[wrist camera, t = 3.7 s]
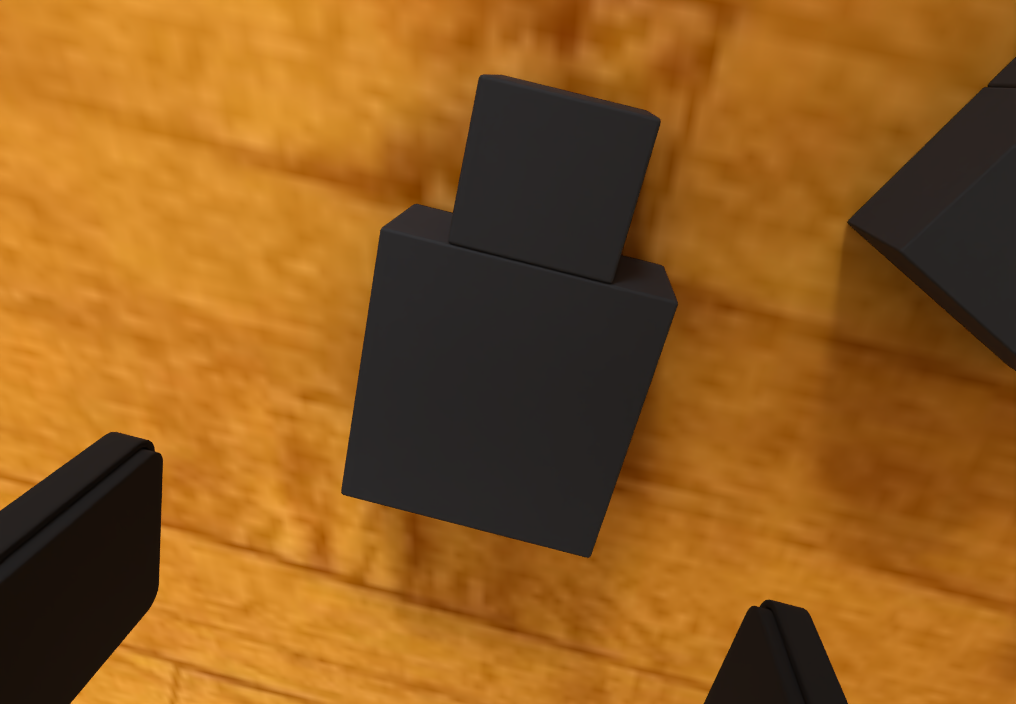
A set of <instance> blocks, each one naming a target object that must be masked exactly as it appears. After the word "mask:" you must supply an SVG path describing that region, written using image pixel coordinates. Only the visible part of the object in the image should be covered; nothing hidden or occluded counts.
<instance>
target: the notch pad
mask: <svg viewBox="0 0 1016 704" xmlns="http://www.w3.org/2000/svg"><path fill="white" fill-rule="evenodd" d="M848 224H849V225H850V226H851V227H852V228H853V229H854V230H856V231H857V232H858V233H859V234H860V235H861V236H862V237H863V238H865V239H866V240H867V241H868V242H869V243H870V244H871V245H872V246H874V247H875V248H876V249H877V250H878V251H879V252H880V253H881V254H883V255H884V256H885V257H886V258H887V259H888V260H889V261H891V262H892V263H893V264H894V265H895V266H896V267H897V268H898V269H900V270H901V271H902V272H903V273H904V274H905V275H906V276H907V277H909V278H910V279H911V280H912V281H913V282H914V283H915V284H916V285H918V286H919V287H920V288H921V289H922V290H923V291H924V292H925V293H927V294H928V295H929V296H930V297H931V298H932V299H933V300H935V301H936V302H937V303H938V304H939V305H940V306H941V307H942V308H944V309H945V310H946V311H947V312H948V313H949V314H950V315H951V316H953V317H954V318H955V319H956V320H957V321H958V322H959V323H960V324H962V325H963V326H964V327H965V328H966V329H967V330H968V331H970V332H971V333H972V334H973V335H974V336H975V337H976V338H977V339H979V340H980V341H981V342H982V343H983V344H984V345H985V346H986V347H988V348H989V349H990V350H991V351H992V352H993V353H994V354H995V355H997V356H998V357H999V358H1000V359H1001V360H1002V361H1003V362H1004V363H1006V364H1007V365H1008V366H1009V367H1011V368H1012V369H1014V370H1015V371H1016V57H1015V58H1014V59H1013V60H1012V61H1011V62H1010V63H1009V64H1008V65H1007V66H1006V67H1005V68H1004V69H1003V70H1002V71H1001V72H1000V73H999V74H998V75H997V76H996V77H995V78H994V79H993V80H992V81H991V82H990V83H989V84H988V87H985V88H983V89H982V90H981V91H980V92H979V93H978V94H977V95H976V96H975V97H974V98H973V99H972V100H971V101H969V102H968V103H967V104H966V105H965V106H964V107H963V108H962V109H961V110H960V111H959V112H958V113H957V114H956V115H955V116H954V117H953V118H952V119H951V120H950V121H949V122H948V123H947V124H946V125H945V126H944V127H943V128H942V129H941V130H940V131H939V132H938V133H937V134H936V135H935V136H934V137H933V138H932V139H931V140H930V141H929V142H928V143H927V144H926V145H925V146H924V147H923V148H922V149H921V150H920V151H919V152H918V153H916V154H915V155H914V156H913V157H912V158H911V159H910V160H909V161H908V162H907V163H906V164H905V165H904V166H903V167H902V168H901V169H900V170H899V171H898V172H897V173H896V174H895V175H894V176H893V177H892V178H891V179H890V180H889V181H888V182H887V183H886V184H885V185H884V186H883V187H882V188H881V189H880V190H879V191H878V192H877V193H876V194H875V195H874V196H873V197H872V198H871V199H870V200H869V201H868V202H867V203H866V204H865V205H863V206H862V207H861V208H860V209H859V210H858V211H857V212H856V213H855V214H854V215H853V216H852V217H851V218H850V219H849V220H848Z"/></svg>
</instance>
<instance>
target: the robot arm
mask: <svg viewBox="0 0 1016 704" xmlns="http://www.w3.org/2000/svg"><path fill="white" fill-rule="evenodd" d="M162 472H163V458H162V456H161V454H160V453H157V452H155V449H154V445H153V443H152V442H151V441H149V440H145V439H142V438H138V437H134V436H130V435H126V434H122V433H118V432H110V433H108V434H106V435H105V436H103V437H102V438H100V439H99V440H98V441H96V442H95V443H94V444H92V445H91V446H89V447H88V448H87V449H85V450H84V451H82V452H81V453H80V454H78V455H77V456H76V457H74V458H73V459H71V460H70V461H69V462H67V463H66V464H64V465H63V466H62V467H60V468H59V469H58V470H56V471H55V472H53V473H52V474H51V475H49V476H48V477H46V478H45V479H44V480H42V481H41V482H40V483H38V484H37V485H35V486H34V487H33V488H31V489H30V490H29V491H27V492H26V493H24V494H23V495H22V496H20V497H19V498H17V499H16V500H15V501H13V502H12V503H11V504H9V505H8V506H6V507H5V508H4V509H2V510H1V511H0V704H70V703H71V702H72V701H73V700H74V698H75V697H76V696H77V695H78V694H79V692H80V691H81V690H82V689H83V688H84V686H85V685H86V684H87V683H88V682H89V680H90V679H91V678H92V677H93V676H94V674H95V673H96V672H97V671H98V670H99V669H100V667H101V666H102V665H103V664H104V663H105V661H106V660H107V659H108V658H109V657H110V655H111V654H112V653H113V652H114V651H115V649H116V648H117V647H118V646H119V645H120V643H121V642H122V641H123V640H124V639H125V637H126V636H127V635H128V634H129V633H130V631H131V630H132V629H133V628H134V627H135V626H136V624H137V623H138V622H139V621H140V620H141V618H142V617H143V616H144V615H145V614H146V612H147V611H148V610H149V608H150V607H151V605H152V603H153V602H154V600H155V597H156V595H157V591H158V587H159V564H160V533H161V503H162ZM704 704H848V703H847V700H846V698H845V695H844V693H843V691H842V688H841V686H840V684H839V681H838V679H837V677H836V674H835V672H834V670H833V667H832V665H831V663H830V660H829V658H828V656H827V653H826V651H825V649H824V646H823V644H822V642H821V639H820V637H819V635H818V632H817V630H816V628H815V625H814V623H813V621H812V618H811V616H810V614H809V613H808V611H807V610H805V609H804V608H800V607H796V606H792V605H788V604H784V603H781V602H777V601H773V600H765V601H764V602H763V603H762V604H761V606H760V607H757V606H752V607H750V608H749V610H748V611H747V613H746V615H745V617H744V619H743V621H742V624H741V626H740V628H739V630H738V632H737V634H736V636H735V638H734V641H733V643H732V645H731V647H730V649H729V651H728V653H727V655H726V658H725V660H724V662H723V664H722V666H721V668H720V670H719V672H718V675H717V677H716V679H715V681H714V683H713V685H712V687H711V689H710V691H709V694H708V696H707V698H706V700H705V702H704Z"/></svg>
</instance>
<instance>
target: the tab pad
mask: <svg viewBox="0 0 1016 704" xmlns="http://www.w3.org/2000/svg"><path fill="white" fill-rule="evenodd" d="M660 123H661V121H660V119H659V118H658V117H656V116H655V115H653V114H651V113H650V112H648V111H646V110H642V109H638V108H634V107H630V106H626V105H622V104H618V103H614V102H610V101H606V100H602V99H598V98H594V97H590V96H586V95H581V94H577V93H573V92H569V91H565V90H561V89H557V88H553V87H549V86H545V85H541V84H537V83H533V82H529V81H525V80H521V79H517V78H512V77H508V76H504V75H485V74H484V75H481V76H480V77H479V80H478V85H477V90H476V96H475V101H474V106H473V111H472V116H471V122H470V127H469V132H468V137H467V142H466V148H465V153H464V158H463V163H462V168H461V174H460V179H459V184H458V189H457V194H456V200H455V205H454V210H453V213H451V212H447V211H443V210H439V209H435V208H431V207H427V206H423V205H419V204H414V205H412V206H411V207H410V208H408V209H407V210H406V211H404V212H403V213H401V214H400V215H399V216H397V217H396V218H395V219H393V220H392V221H390V222H389V223H388V224H386V225H385V226H384V227H382V229H381V230H380V237H379V244H378V250H377V257H376V264H375V270H374V277H373V283H372V290H371V297H370V303H369V310H368V317H367V323H366V330H365V337H364V343H363V350H362V357H361V363H360V370H359V376H358V383H357V390H356V396H355V403H354V410H353V416H352V423H351V430H350V436H349V443H348V450H347V456H346V463H345V469H344V476H343V483H342V489H341V493H342V494H343V495H346V496H350V497H354V498H358V499H362V500H365V501H369V502H373V503H377V504H381V505H385V506H389V507H393V508H396V509H400V510H404V511H408V512H412V513H416V514H420V515H424V516H427V517H431V518H435V519H439V520H443V521H447V522H451V523H455V524H459V525H462V526H466V527H470V528H474V529H478V530H482V531H486V532H490V533H493V534H497V535H501V536H505V537H509V538H513V539H517V540H521V541H524V542H528V543H532V544H536V545H540V546H544V547H548V548H552V549H556V550H559V551H563V552H567V553H571V554H575V555H579V556H583V557H587V558H589V557H590V556H591V554H592V551H593V548H594V545H595V543H596V540H597V537H598V534H599V531H600V528H601V525H602V522H603V519H604V517H605V514H606V511H607V508H608V505H609V502H610V499H611V496H612V493H613V491H614V488H615V485H616V482H617V479H618V476H619V473H620V470H621V467H622V464H623V462H624V459H625V456H626V453H627V450H628V447H629V444H630V441H631V438H632V436H633V433H634V430H635V427H636V424H637V421H638V418H639V415H640V412H641V410H642V407H643V404H644V401H645V398H646V395H647V392H648V389H649V386H650V384H651V381H652V378H653V375H654V372H655V369H656V366H657V363H658V360H659V357H660V355H661V352H662V349H663V346H664V343H665V340H666V337H667V334H668V331H669V329H670V326H671V323H672V320H673V317H674V314H675V311H676V308H677V305H678V302H677V299H676V296H675V294H674V291H673V289H672V286H671V284H670V281H669V279H668V276H667V274H666V271H665V269H664V267H663V266H662V265H659V264H655V263H651V262H647V261H643V260H639V259H635V258H631V257H627V256H623V255H621V253H622V250H623V247H624V243H625V240H626V237H627V233H628V230H629V227H630V223H631V220H632V217H633V213H634V210H635V207H636V203H637V200H638V197H639V193H640V190H641V187H642V183H643V180H644V177H645V173H646V170H647V167H648V163H649V160H650V157H651V153H652V150H653V147H654V143H655V140H656V137H657V133H658V130H659V127H660Z"/></svg>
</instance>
